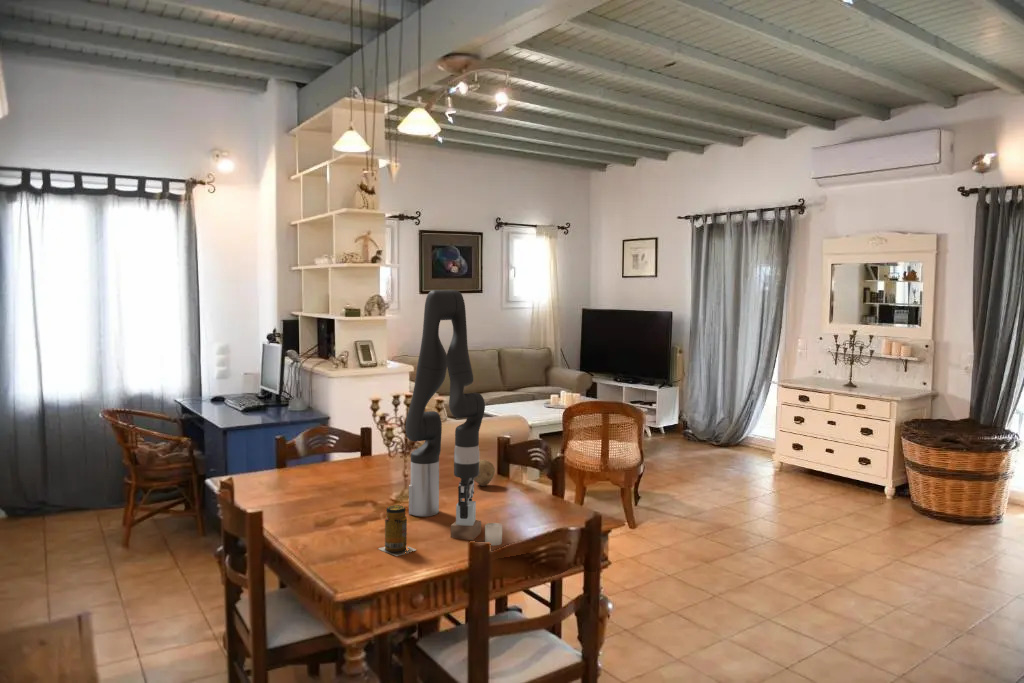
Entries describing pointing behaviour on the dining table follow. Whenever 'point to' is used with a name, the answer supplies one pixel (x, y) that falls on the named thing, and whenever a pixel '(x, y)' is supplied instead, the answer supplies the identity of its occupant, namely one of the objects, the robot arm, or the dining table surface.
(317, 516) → the dining table surface
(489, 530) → the cream cylinder
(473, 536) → the walnut block
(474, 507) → the pale grey block
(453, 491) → the dining table surface
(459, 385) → the robot arm
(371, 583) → the dining table surface
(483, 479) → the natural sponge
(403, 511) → the condiment
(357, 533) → the dining table surface
